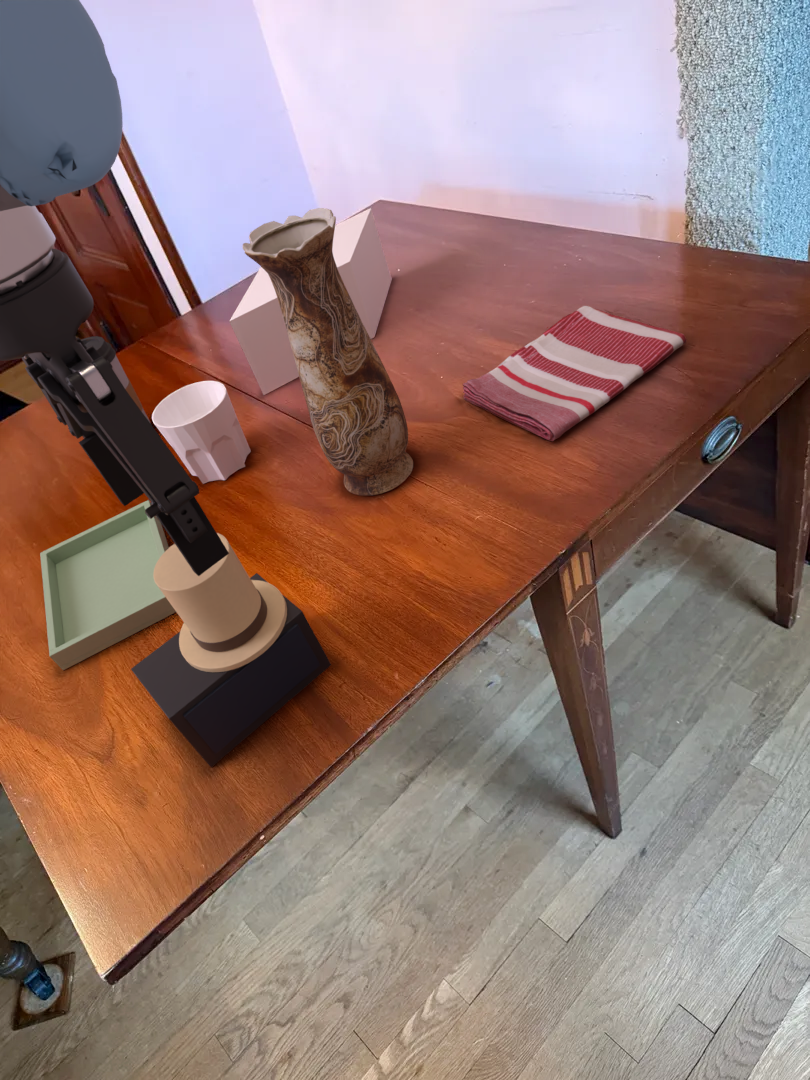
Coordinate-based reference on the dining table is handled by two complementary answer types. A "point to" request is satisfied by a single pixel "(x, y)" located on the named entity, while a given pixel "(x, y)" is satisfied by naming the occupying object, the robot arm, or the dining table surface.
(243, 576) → the hat
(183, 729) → the black rectangular block
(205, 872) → the dining table surface
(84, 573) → the tray
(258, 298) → the block
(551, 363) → the dish towel
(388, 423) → the vase
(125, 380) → the coffee cup
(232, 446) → the cup
